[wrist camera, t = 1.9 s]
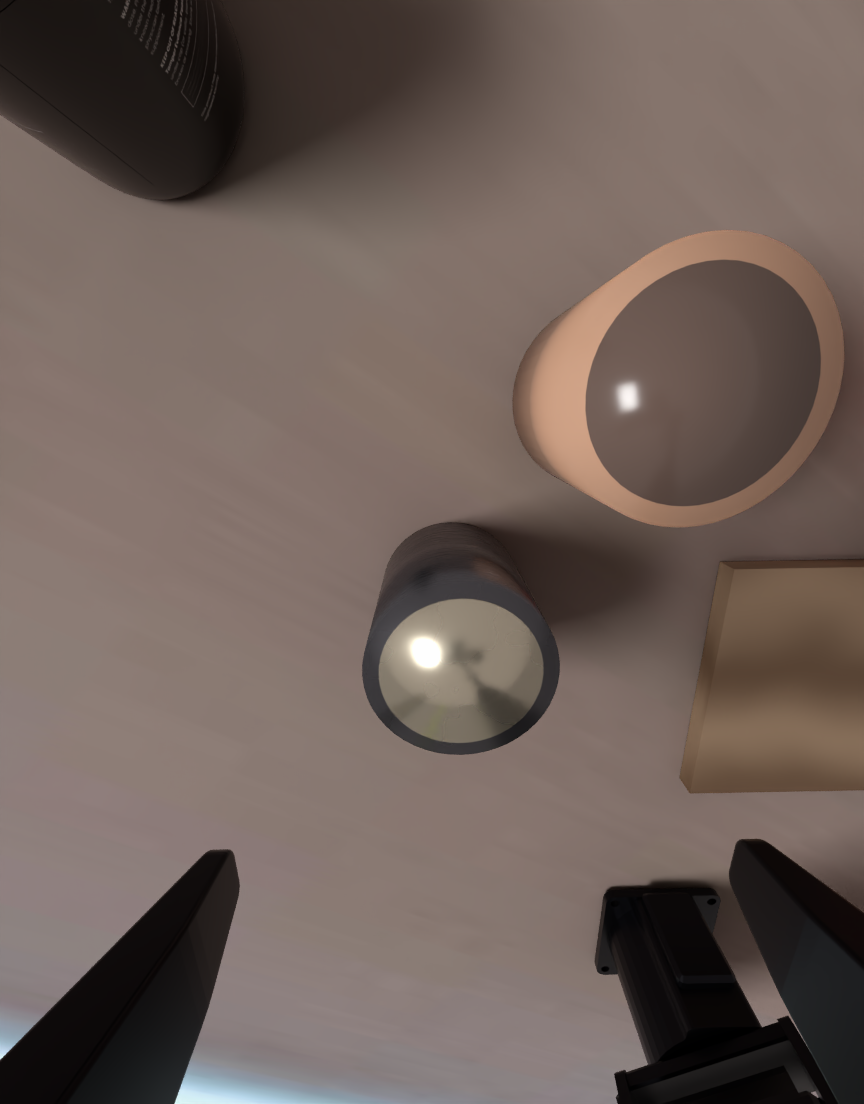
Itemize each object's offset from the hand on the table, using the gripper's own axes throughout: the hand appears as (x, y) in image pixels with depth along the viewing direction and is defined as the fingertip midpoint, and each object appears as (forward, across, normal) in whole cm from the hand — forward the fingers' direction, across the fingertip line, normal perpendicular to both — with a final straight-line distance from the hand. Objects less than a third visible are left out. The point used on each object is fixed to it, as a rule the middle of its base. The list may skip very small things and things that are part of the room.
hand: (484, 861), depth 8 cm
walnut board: (+13, -18, +5) cm, 23 cm away
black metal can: (+13, 0, 0) cm, 13 cm away
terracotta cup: (+13, -6, -8) cm, 16 cm away
